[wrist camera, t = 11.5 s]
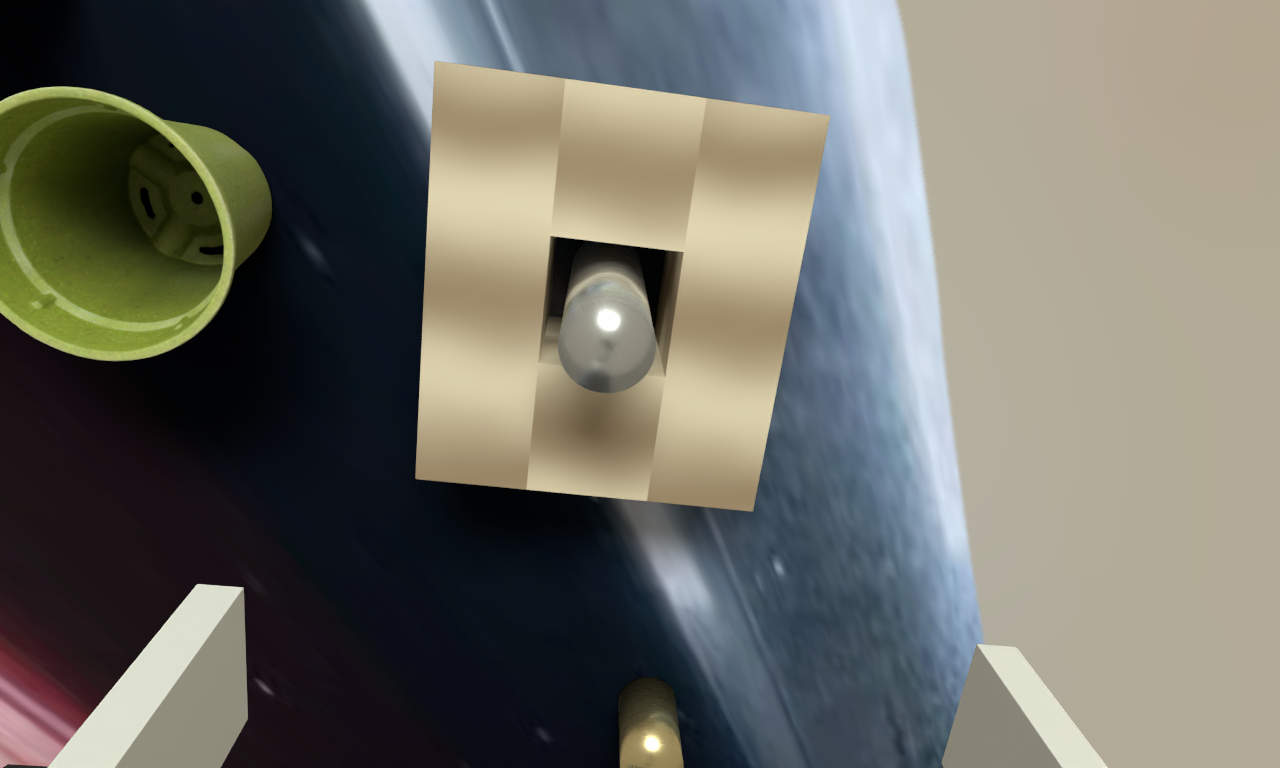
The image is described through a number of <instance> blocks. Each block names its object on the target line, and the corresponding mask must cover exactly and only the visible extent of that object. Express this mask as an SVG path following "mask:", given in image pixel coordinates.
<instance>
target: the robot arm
mask: <svg viewBox="0 0 1280 768" xmlns="http://www.w3.org/2000/svg"><path fill="white" fill-rule="evenodd" d="M247 719H248V711H247V679H246V647H245V616H244V588H242V587H229V586H216V585H203V584H197V585H196V586H195V588H194V589H193V590H192V591H191V592H190V594H189V595H188V596H187V597H186V599H185V600H184V601H183V602H182V603H181V605H180V606H179V607H178V608H177V610H176V611H175V612H174V613H173V615H172V616H171V617H170V618H169V619H168V621H167V622H166V623H165V624H164V626H163V627H162V628H161V629H160V630H159V632H158V633H157V634H156V635H155V637H154V638H153V639H152V640H151V641H150V643H149V644H148V645H147V646H146V648H145V649H144V650H143V651H142V653H141V654H140V655H139V656H138V657H137V659H136V660H135V661H134V662H133V664H132V665H131V666H130V667H129V668H128V670H127V671H126V672H125V673H124V675H123V676H122V677H121V678H120V679H119V681H118V682H117V683H116V684H115V686H114V687H113V688H112V689H111V691H110V692H109V693H108V694H107V695H106V697H105V698H104V699H103V700H102V702H101V703H100V704H99V705H98V706H97V708H96V709H95V710H94V711H93V713H92V714H91V715H90V716H89V717H88V719H87V720H86V721H85V722H84V724H83V725H82V726H81V727H80V729H79V730H78V731H77V732H76V733H75V735H74V736H73V737H72V738H71V740H70V741H69V742H68V743H67V744H66V746H65V747H64V748H63V749H62V751H61V752H60V753H59V754H58V755H57V757H56V758H55V759H54V760H53V762H52V763H51V764H50V765H49V767H43V766H26V765H9V764H8V765H6V766H5V767H3V768H220V767H221V766H222V764H223V762H224V760H225V758H226V757H227V755H228V753H229V751H230V750H231V748H232V746H233V744H234V742H235V741H236V739H237V737H238V735H239V733H240V732H241V730H242V728H243V726H244V724H245V723H246V721H247ZM942 765H943V767H944V768H1107V766H1106V765H1105V763H1104V762H1103V761H1102V759H1101V758H1100V757H1099V756H1098V755H1097V753H1096V752H1095V750H1094V749H1093V748H1092V746H1091V745H1090V744H1089V742H1088V741H1087V740H1086V739H1085V737H1084V736H1083V734H1082V733H1081V732H1080V731H1079V729H1078V728H1077V727H1076V725H1075V724H1074V723H1073V721H1072V720H1071V719H1070V717H1069V716H1068V715H1067V713H1066V712H1065V711H1064V709H1063V708H1062V707H1061V705H1060V704H1059V703H1058V701H1057V700H1056V699H1055V698H1054V696H1053V695H1052V694H1051V692H1050V691H1049V690H1048V688H1047V687H1046V686H1045V684H1044V683H1043V682H1042V680H1041V679H1040V678H1039V677H1038V675H1037V674H1036V673H1035V671H1034V670H1033V669H1032V667H1031V666H1030V665H1029V663H1028V662H1027V661H1026V659H1025V658H1024V657H1023V655H1022V654H1021V653H1020V651H1019V650H1018V649H1017V648H1016V647H1007V646H994V645H981V644H977V645H976V648H975V652H974V655H973V659H972V662H971V665H970V669H969V672H968V675H967V679H966V682H965V686H964V689H963V692H962V696H961V699H960V702H959V706H958V709H957V713H956V716H955V719H954V723H953V726H952V729H951V733H950V736H949V740H948V743H947V746H946V750H945V753H944V757H943V760H942Z"/></svg>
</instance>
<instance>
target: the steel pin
mask: <svg viewBox="0 0 1280 768" xmlns="http://www.w3.org/2000/svg"><path fill="white" fill-rule="evenodd" d="M558 353H559V358H560V361H561V364H562V366H563V368H564V370H565V371H566V373H567V374H568V375H569V377H570V378H571V379H572V380H573V381H575V382H576V383H577V384H579V385H580V386H582V387H584V388H586V389H588V390H591V391H594V392H599V393H616V392H620V391H623V390H626V389H629V388H631V387H633V386H634V385H636V384H637V383H638V382H639V381H641V380H642V379H643V378H644V377H645V375H646V374H647V373H648V371H649V370H650V368H651V366H652V364H653V361H654V358H655V353H656V339H655V334H654V329H653V324H652V318H651V313H650V308H649V303H648V298H647V292H646V287H645V282H644V277H643V272H642V267H641V262H640V258H639V256H638V254H637V252H636V251H635V249H634V248H633V247H632V246H629V245H621V244H613V243H605V242H596V241H587V242H586V243H584V244H583V245H582V246H581V247H580V248H579V250H578V251H577V253H576V255H575V257H574V260H573V264H572V269H571V275H570V280H569V285H568V291H567V296H566V302H565V307H564V312H563V318H562V323H561V329H560V334H559V340H558Z"/></svg>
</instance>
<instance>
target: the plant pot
mask: <svg viewBox="0 0 1280 768" xmlns="http://www.w3.org/2000/svg"><path fill="white" fill-rule="evenodd" d="M171 143H172V144H173V145H174V147H173V148H171V147H169V145H170V144H171ZM143 187H144V188H146V189H148V195H149V198H150V203H151V206H152V209H153V212H154V214H155V216H156V217H155V218H154V219H153V218H150V217H148V216H147V213H146V210H145V207H144V205H143V203H142V201H141V197H140V190H141V189H142V188H143ZM194 192H199V193H200V194H201V195H202V197H203V202H202V203H201V204H196V203H194V202H193V200H192V194H193V193H194ZM271 215H272V199H271V194H270V190H269V186H268V183H267V181H266V178H265V176H264V174H263V172H262V170H261V168H260V166H259V165H258V163H257V162H256V160H255V159H254V158H253V157H252V156H251V155H250V154H249V153H248V152H247V151H246V150H244V149H243V148H242V147H241V146H239V145H238V144H237V143H236V142H234V141H233V140H231V139H230V138H228V137H227V136H225V135H224V134H222V133H220V132H218V131H216V130H213V129H210V128H207V127H203V126H197V125H191V124H185V123H179V122H172V121H166V120H162V119H160V118H159V117H157V116H156V115H154V114H153V113H151V112H150V111H148V110H146V109H144V108H143V107H141V106H139V105H137V104H135V103H133V102H131V101H128V100H126V99H124V98H121V97H118V96H115V95H112V94H109V93H105V92H101V91H97V90H92V89H86V88H77V87H45V88H38V89H33V90H28V91H24V92H21V93H18V94H15V95H13V96H10V97H8V98H6V99H4V100H2V101H0V313H1V314H3V315H4V316H5V317H6V318H8V319H9V320H10V321H11V322H12V323H14V324H15V325H16V326H18V327H19V328H20V329H21V330H23V331H24V332H26V333H27V334H29V335H31V336H32V337H34V338H36V339H37V340H39V341H41V342H43V343H45V344H47V345H49V346H52V347H54V348H56V349H58V350H61V351H63V352H66V353H70V354H73V355H76V356H81V357H84V358H89V359H95V360H104V361H130V360H137V359H143V358H149V357H152V356H156V355H159V354H162V353H165V352H167V351H170V350H172V349H174V348H176V347H178V346H180V345H182V344H183V343H185V342H187V341H188V340H190V339H191V338H192V337H194V336H195V335H197V334H198V333H199V332H200V331H201V330H202V329H203V328H205V327H206V326H207V324H208V323H209V322H210V321H211V320H212V319H213V318H214V316H215V315H216V314H217V312H218V311H219V309H220V308H221V306H222V305H223V303H224V301H225V299H226V297H227V294H228V292H229V289H230V287H231V284H232V280H233V276H234V272H235V270H236V269H237V268H238V267H239V266H240V265H241V264H242V263H243V262H244V261H245V260H246V259H247V258H248V257H249V256H250V255H251V254H252V253H253V252H254V251H255V250H256V249H257V248H258V246H259V245H260V243H261V242H262V240H263V238H264V236H265V234H266V232H267V230H268V228H269V225H270V221H271ZM222 245H224V254H222V255H206V254H202V253H201V252H200V251H199V249H200V248H201V247H219V246H222Z"/></svg>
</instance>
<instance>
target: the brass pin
mask: <svg viewBox="0 0 1280 768" xmlns="http://www.w3.org/2000/svg"><path fill="white" fill-rule="evenodd" d="M618 709H619V745H620V768H684V767H683V758H682V749H681V741H680V733H679V724H678V716H677V708H676V699H675V694H674V691H673V690H672V688H671V687H670V686H669V685H668V684H667V683H666V682H664V681H662V680H660V679H657V678H652V677H643V678H639V679H635V680H633V681H631V682H630V683H628V684H627V685H626V686H625V687H624V688H623V689H622V691H621V692H620V695H619V699H618Z"/></svg>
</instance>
